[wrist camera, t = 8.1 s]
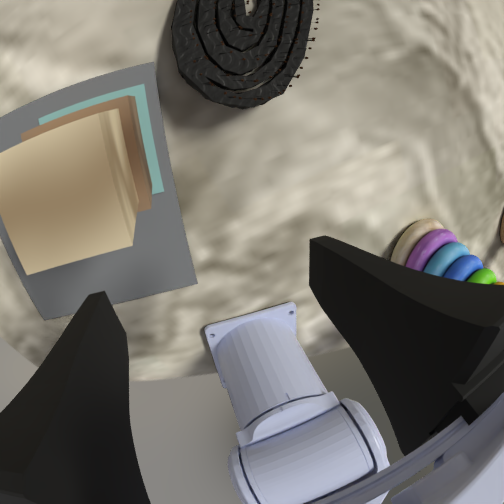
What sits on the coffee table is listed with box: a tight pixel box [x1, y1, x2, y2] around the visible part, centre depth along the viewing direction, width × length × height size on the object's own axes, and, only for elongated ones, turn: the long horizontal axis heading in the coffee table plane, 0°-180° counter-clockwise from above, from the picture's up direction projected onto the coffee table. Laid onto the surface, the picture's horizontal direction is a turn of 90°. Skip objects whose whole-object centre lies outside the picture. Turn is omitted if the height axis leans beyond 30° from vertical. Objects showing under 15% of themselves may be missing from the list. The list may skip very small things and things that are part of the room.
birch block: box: [0, 109, 139, 275], centre depth 9 cm, size 4×4×4 cm
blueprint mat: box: [0, 62, 198, 320], centre depth 16 cm, size 15×13×1 cm
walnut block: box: [21, 95, 152, 212], centre depth 13 cm, size 5×5×4 cm
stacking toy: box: [391, 219, 504, 285], centre depth 20 cm, size 8×8×19 cm
